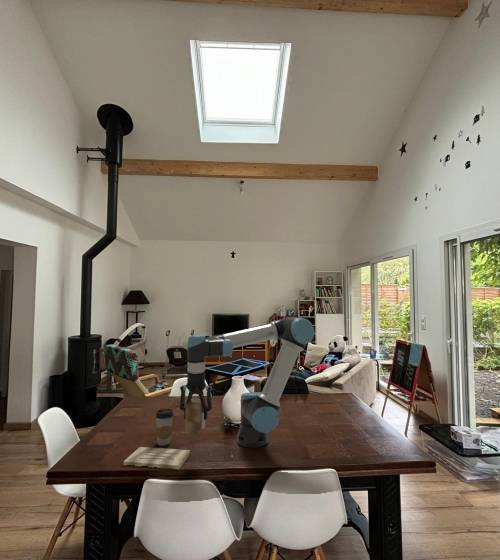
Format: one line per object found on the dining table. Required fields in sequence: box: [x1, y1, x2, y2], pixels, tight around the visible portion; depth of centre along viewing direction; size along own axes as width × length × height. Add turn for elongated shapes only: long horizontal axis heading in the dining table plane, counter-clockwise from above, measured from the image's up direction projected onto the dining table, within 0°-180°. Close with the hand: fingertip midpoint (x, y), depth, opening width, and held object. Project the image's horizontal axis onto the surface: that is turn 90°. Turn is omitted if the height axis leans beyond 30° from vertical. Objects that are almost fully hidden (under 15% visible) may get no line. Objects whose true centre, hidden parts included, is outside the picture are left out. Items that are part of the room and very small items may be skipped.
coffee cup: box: [155, 408, 174, 447], centre depth 157 cm, size 8×8×15 cm
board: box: [123, 446, 191, 470], centre depth 140 cm, size 24×14×2 cm, turn 82°
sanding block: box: [184, 397, 207, 436], centre depth 138 cm, size 6×9×12 cm, turn 172°
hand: (195, 426), depth 138 cm, fingers closed on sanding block, 6 cm apart
